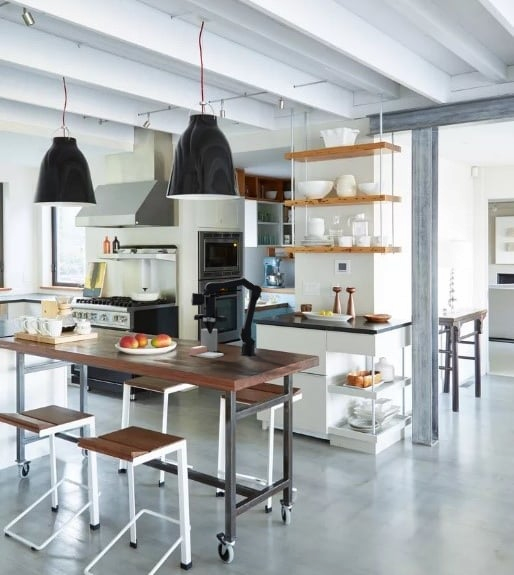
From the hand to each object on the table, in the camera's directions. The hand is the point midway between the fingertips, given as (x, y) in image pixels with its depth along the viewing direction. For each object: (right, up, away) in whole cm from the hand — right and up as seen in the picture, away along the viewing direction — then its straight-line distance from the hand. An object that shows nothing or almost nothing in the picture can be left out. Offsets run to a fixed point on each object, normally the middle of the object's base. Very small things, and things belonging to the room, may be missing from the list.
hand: (210, 333), depth 352 cm
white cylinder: (-2, -11, +20) cm, 23 cm away
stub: (-7, -12, +5) cm, 15 cm away
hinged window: (0, -12, +1) cm, 12 cm away
